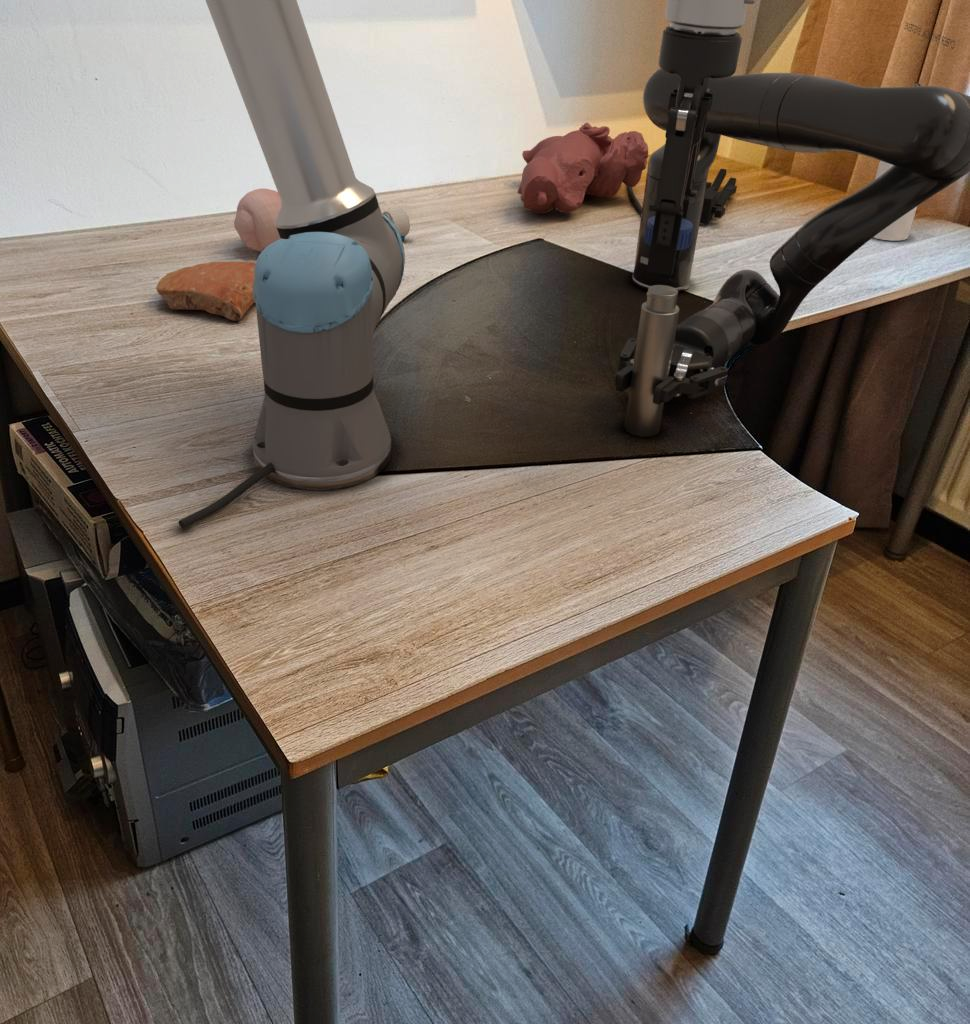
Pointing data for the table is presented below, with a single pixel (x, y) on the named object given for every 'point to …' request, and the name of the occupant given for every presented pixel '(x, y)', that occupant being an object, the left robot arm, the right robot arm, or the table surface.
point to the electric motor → (399, 221)
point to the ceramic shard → (211, 288)
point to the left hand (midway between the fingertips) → (663, 263)
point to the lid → (683, 236)
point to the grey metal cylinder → (651, 359)
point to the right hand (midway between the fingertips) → (638, 389)
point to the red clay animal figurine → (580, 168)
